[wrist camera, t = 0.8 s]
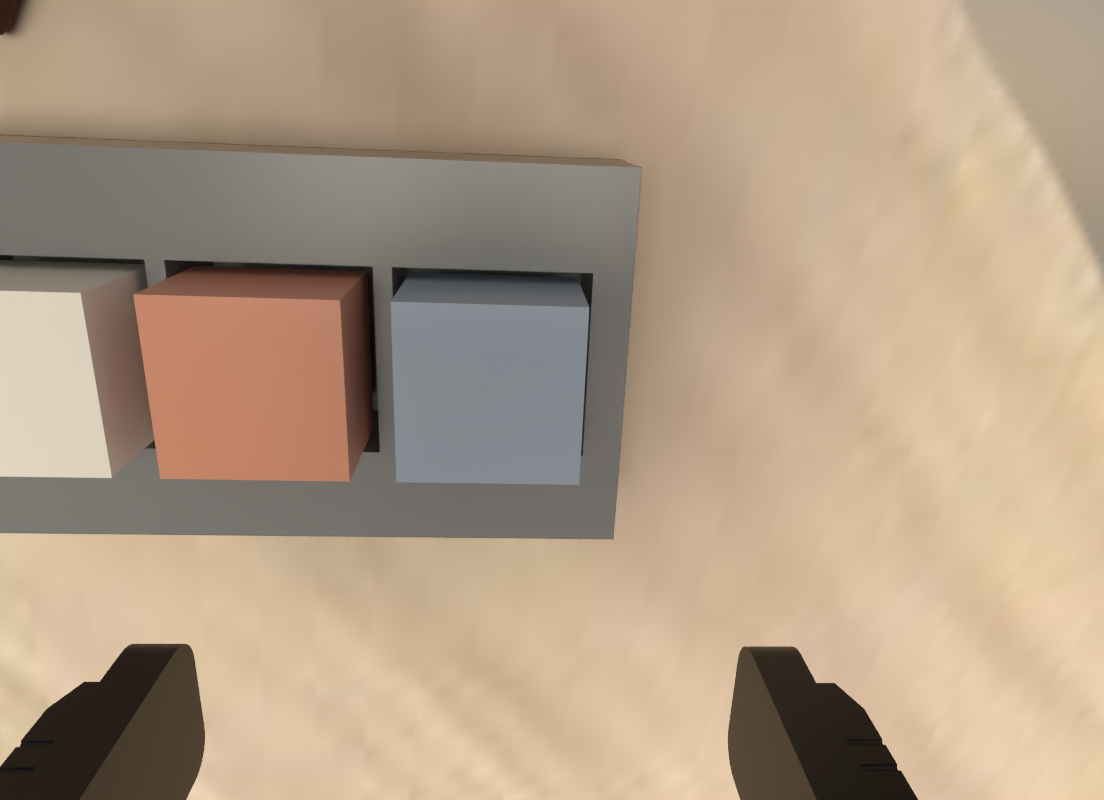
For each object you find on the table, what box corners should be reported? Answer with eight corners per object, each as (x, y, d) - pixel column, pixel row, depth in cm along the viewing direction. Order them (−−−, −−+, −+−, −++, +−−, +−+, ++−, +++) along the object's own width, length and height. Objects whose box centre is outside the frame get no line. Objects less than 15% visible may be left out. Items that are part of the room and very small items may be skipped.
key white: (7, 420, 27) (-85, 475, 23) (-28, 259, 25) (-135, 287, 21) (172, 423, 27) (111, 478, 23) (150, 264, 25) (80, 292, 21)
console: (37, 470, 31) (-46, 532, 27) (-32, 133, 27) (-146, 136, 22) (598, 479, 33) (613, 539, 28) (620, 159, 28) (641, 167, 24)
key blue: (413, 427, 28) (396, 482, 24) (409, 272, 26) (390, 301, 22) (569, 430, 28) (579, 485, 24) (577, 277, 26) (589, 307, 22)
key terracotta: (213, 424, 27) (159, 478, 23) (194, 265, 25) (133, 294, 21) (374, 427, 28) (349, 481, 23) (367, 271, 26) (339, 300, 22)
